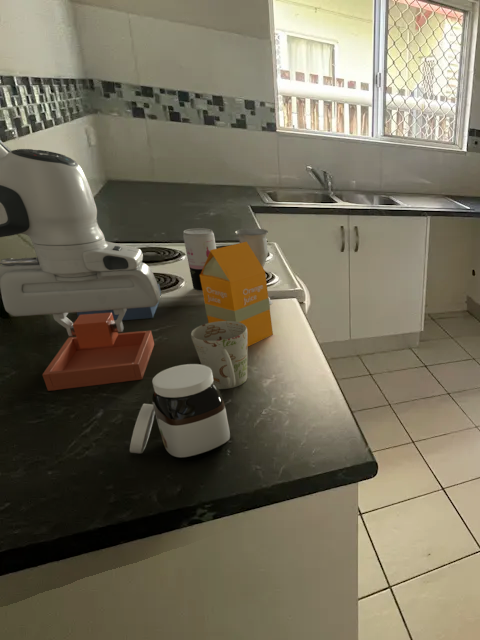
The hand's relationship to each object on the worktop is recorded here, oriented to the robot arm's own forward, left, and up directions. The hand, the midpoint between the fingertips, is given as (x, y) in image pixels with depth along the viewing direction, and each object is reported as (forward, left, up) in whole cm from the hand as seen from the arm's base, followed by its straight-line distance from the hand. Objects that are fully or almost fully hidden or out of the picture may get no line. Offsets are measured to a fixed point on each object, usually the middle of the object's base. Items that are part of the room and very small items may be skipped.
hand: (97, 332), depth 83 cm
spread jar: (+14, -30, -7) cm, 34 cm away
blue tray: (-2, +29, -7) cm, 30 cm away
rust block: (0, 0, -2) cm, 2 cm away
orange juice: (+22, +6, -7) cm, 24 cm away
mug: (+20, -14, -7) cm, 25 cm away
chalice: (+26, +26, -7) cm, 37 cm away
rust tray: (0, 0, -7) cm, 7 cm away
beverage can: (+14, +40, -7) cm, 43 cm away
